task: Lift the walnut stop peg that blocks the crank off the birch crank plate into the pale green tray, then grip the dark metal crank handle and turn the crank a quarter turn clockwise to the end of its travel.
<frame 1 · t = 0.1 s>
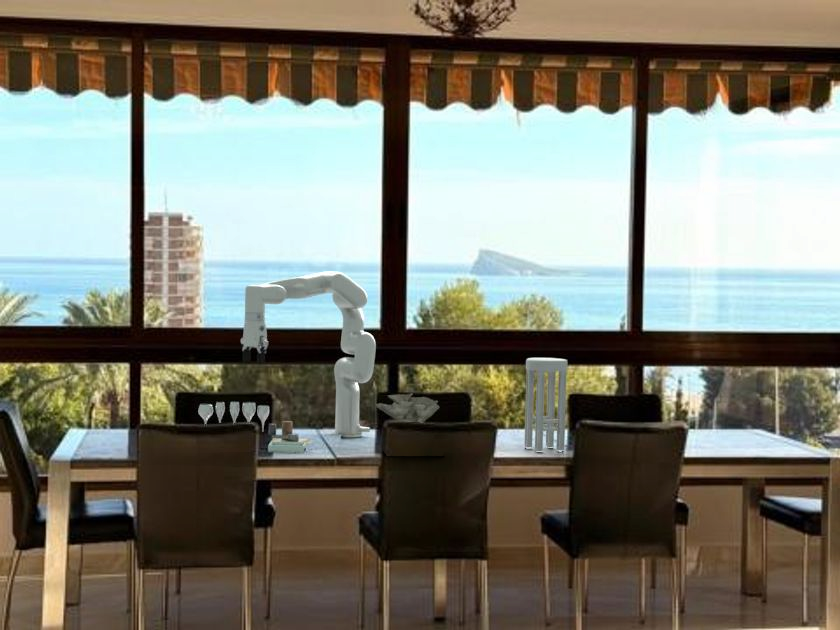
hand: (253, 362, 470), 31 cm above the table, tool pointing down, fingers open, 9 cm apart
crank: (283, 432, 469), point 5 cm above the table, hinge at 0.0°
coral: (407, 453, 460), on the table
stool: (544, 450, 474), on the table
tray: (287, 450, 457), on the table
stop peg: (286, 439, 474), point 1 cm above the table, touching crank plate
goblet set: (233, 435, 495), on the table
crank plate: (291, 445, 471), on the table
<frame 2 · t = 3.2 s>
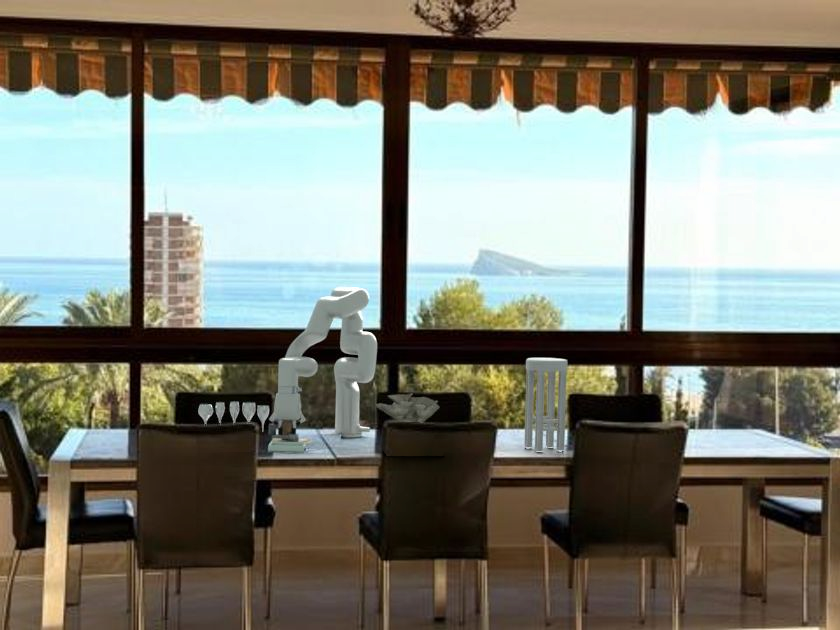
hand: (286, 437, 474), 2 cm above the table, tool pointing down, fingers closed on stop peg, 4 cm apart
stop peg: (286, 439, 474), point 2 cm above the table, touching crank plate, gripper
everything else where it was.
when the fingers open (3 cm above the table, at t = 9.7 s): stop peg drops 2 cm, resting on tray.
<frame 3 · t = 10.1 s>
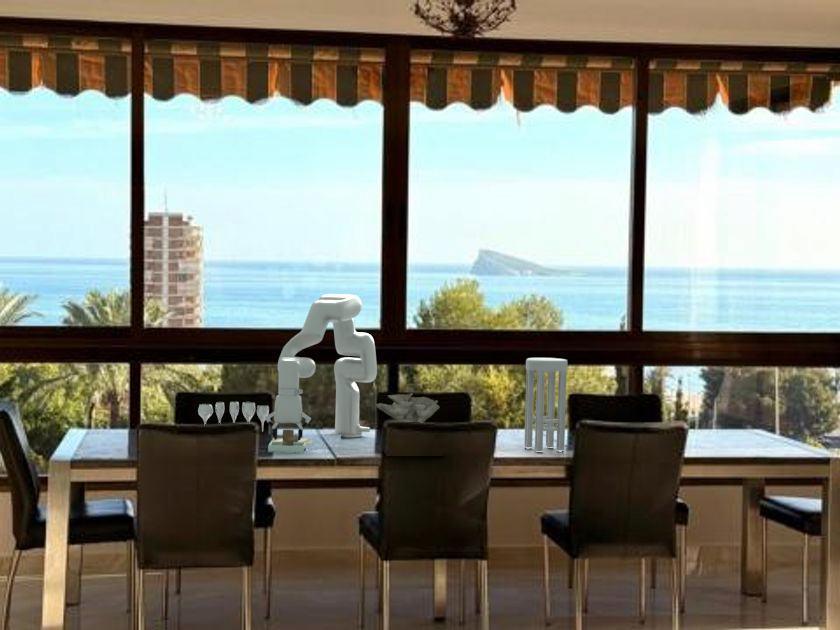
hand: (287, 439, 457), 4 cm above the table, tool pointing down, fingers open, 8 cm apart
stop peg: (287, 448, 457), point 1 cm above the table, touching tray
everything else where it was.
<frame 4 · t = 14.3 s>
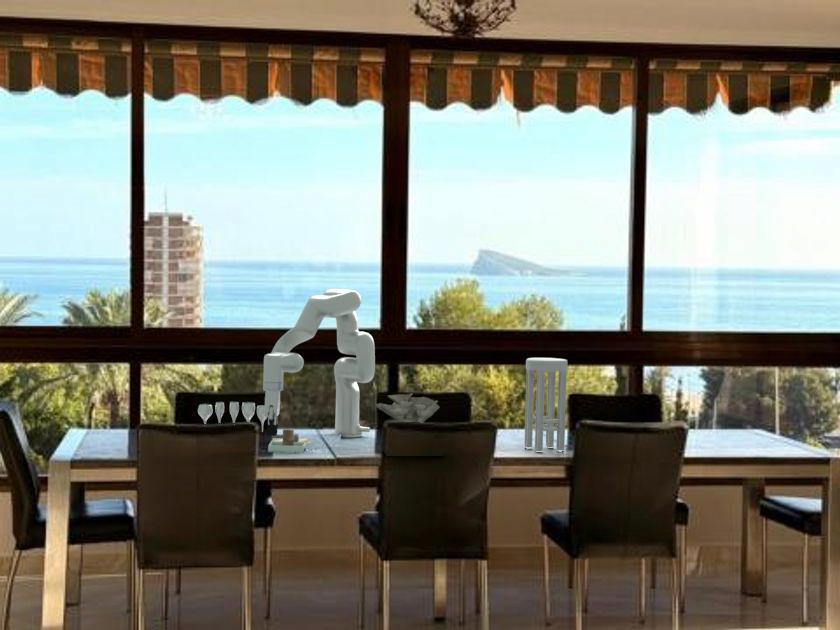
hand: (272, 434, 469), 4 cm above the table, tool pointing down, fingers closed on crank, 2 cm apart
crank: (283, 432, 469), point 5 cm above the table, hinge at 0.0°, touching gripper
everything else where it was.
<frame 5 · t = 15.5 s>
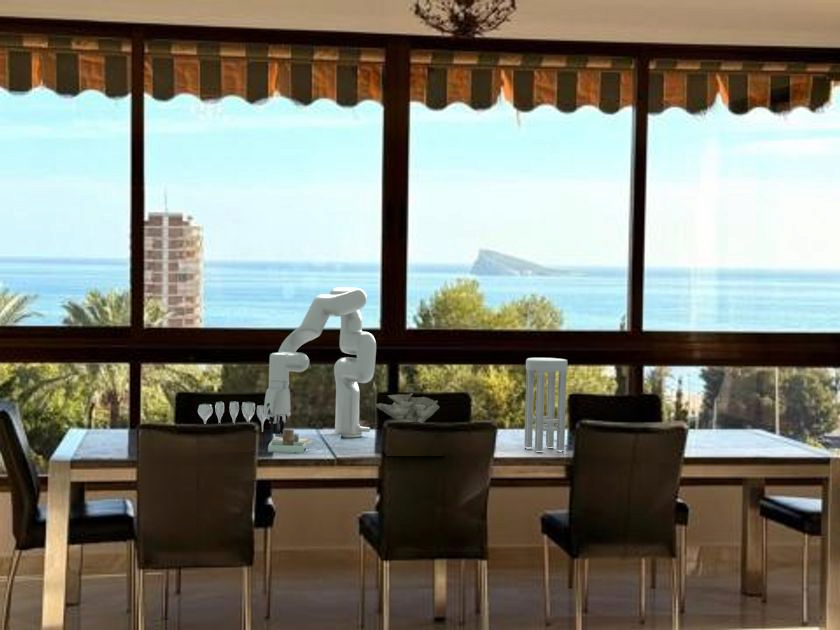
hand: (277, 432, 473), 4 cm above the table, tool pointing down, fingers closed on crank, 2 cm apart
crank: (285, 432, 471), point 5 cm above the table, hinge at -32.1°, touching gripper
everything else where it was.
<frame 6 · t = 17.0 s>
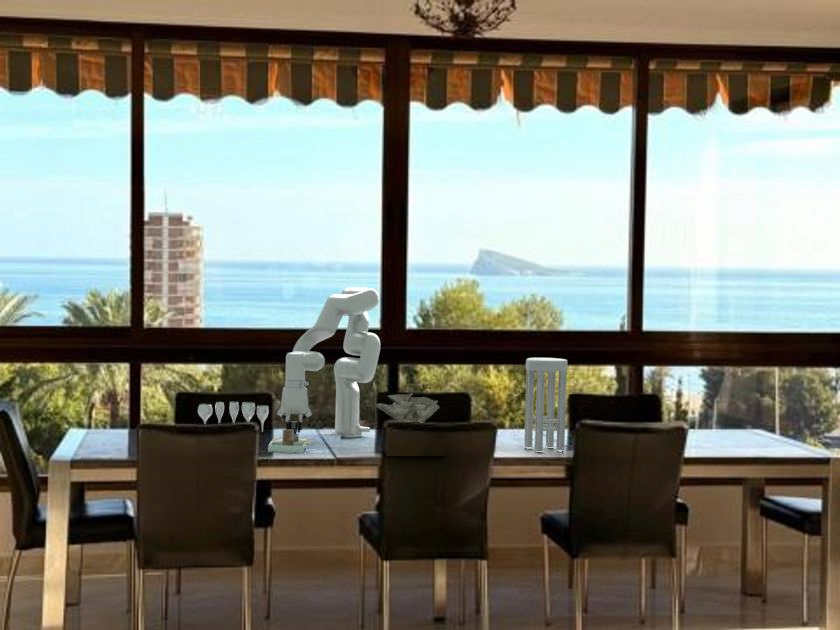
hand: (293, 431, 477), 4 cm above the table, tool pointing down, fingers open, 3 cm apart
crank: (293, 431, 472), point 5 cm above the table, hinge at -84.5°, touching gripper
everything else where it was.
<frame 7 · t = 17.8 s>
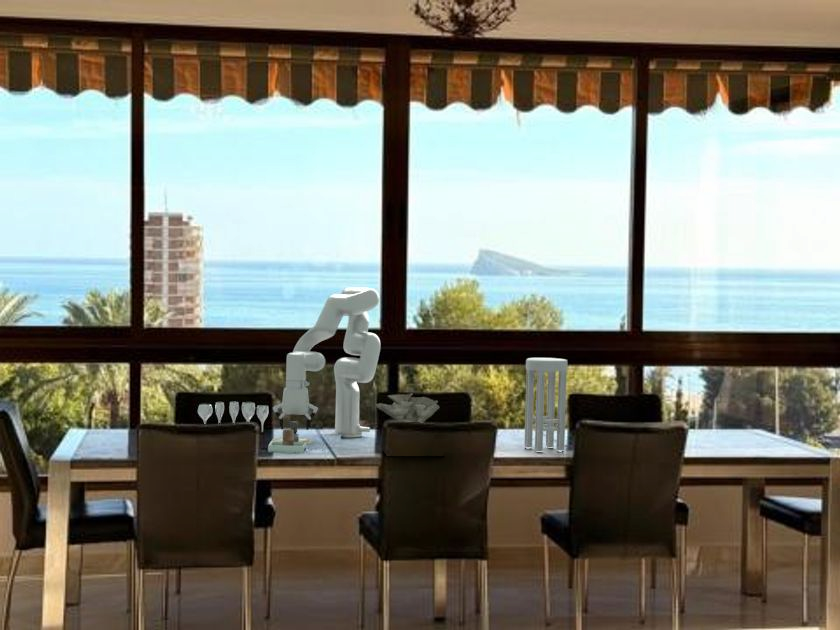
hand: (294, 429, 477), 5 cm above the table, tool pointing down, fingers open, 9 cm apart
crank: (293, 431, 472), point 5 cm above the table, hinge at -84.9°
everything else where it was.
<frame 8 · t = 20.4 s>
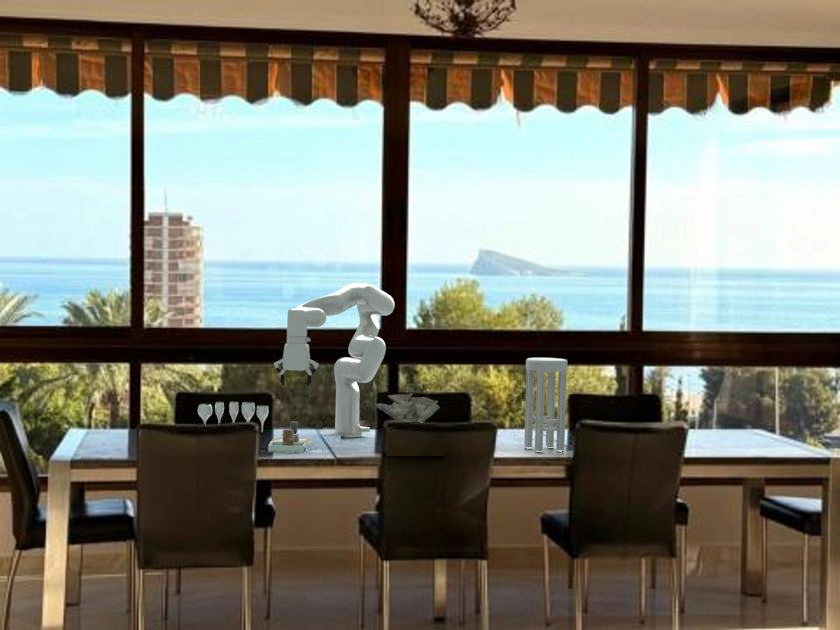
hand: (295, 385, 476), 22 cm above the table, tool pointing down, fingers open, 9 cm apart
nothing on the table moved.
at the end: stop peg inside the target area on the tray (0.2 cm from its centre), point 0.6 cm above the tray's base; stop peg tilted 0°; crank at -85° (first picture: +0°) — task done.
